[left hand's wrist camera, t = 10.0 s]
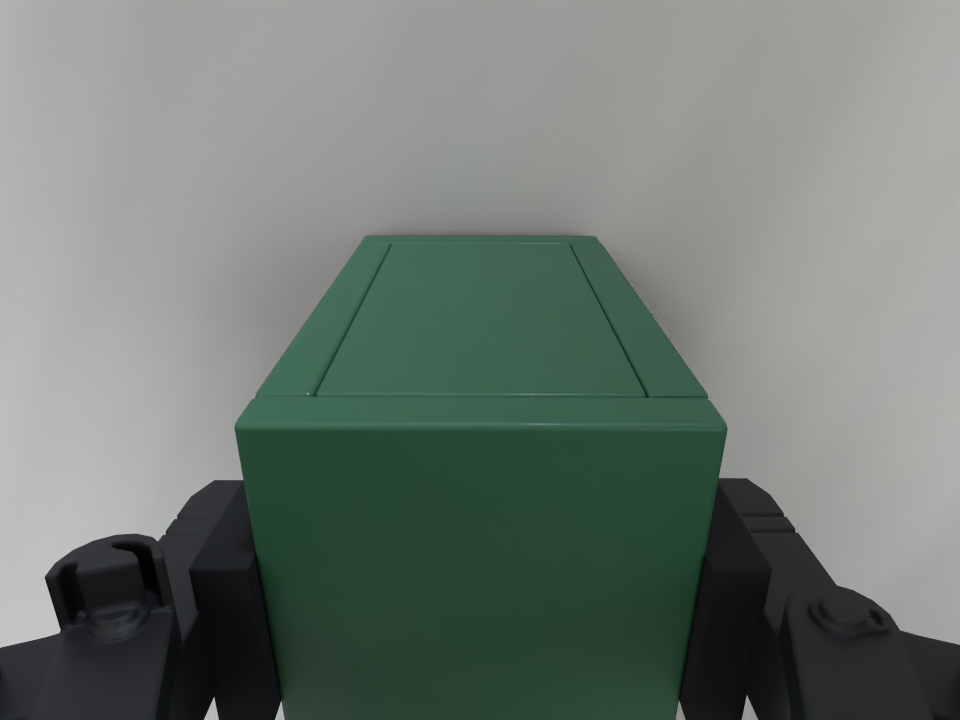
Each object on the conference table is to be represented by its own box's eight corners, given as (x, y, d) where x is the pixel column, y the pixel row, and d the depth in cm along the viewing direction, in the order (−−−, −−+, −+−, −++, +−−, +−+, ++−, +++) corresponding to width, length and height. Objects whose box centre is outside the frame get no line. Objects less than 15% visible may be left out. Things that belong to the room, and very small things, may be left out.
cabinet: (558, 737, 24) (604, 1125, 15) (399, 737, 24) (352, 1124, 15) (596, 235, 16) (731, 425, 8) (364, 234, 16) (231, 424, 8)
